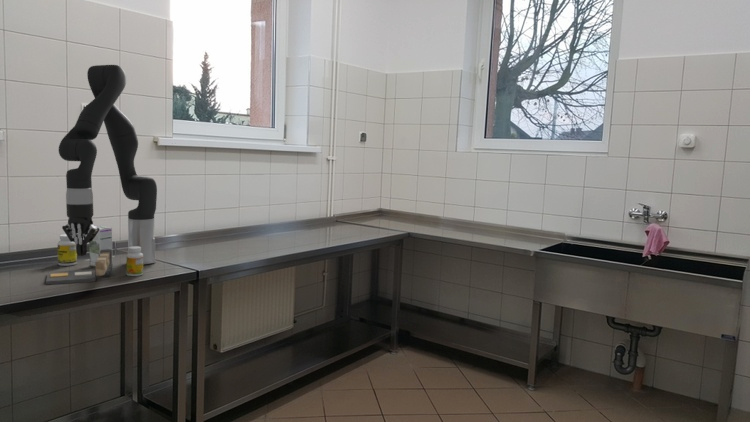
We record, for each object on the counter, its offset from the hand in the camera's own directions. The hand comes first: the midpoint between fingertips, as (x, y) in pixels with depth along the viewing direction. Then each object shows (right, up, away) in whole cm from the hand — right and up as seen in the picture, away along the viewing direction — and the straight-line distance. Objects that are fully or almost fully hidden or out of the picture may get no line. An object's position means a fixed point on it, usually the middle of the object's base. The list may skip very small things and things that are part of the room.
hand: (81, 255), depth 175 cm
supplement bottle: (+10, -8, +16) cm, 21 cm away
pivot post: (+2, -8, +12) cm, 15 cm away
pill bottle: (-20, -6, +27) cm, 33 cm away
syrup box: (-7, -6, +27) cm, 28 cm away
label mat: (-7, -8, +7) cm, 13 cm away
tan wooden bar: (+5, -5, +4) cm, 8 cm away
